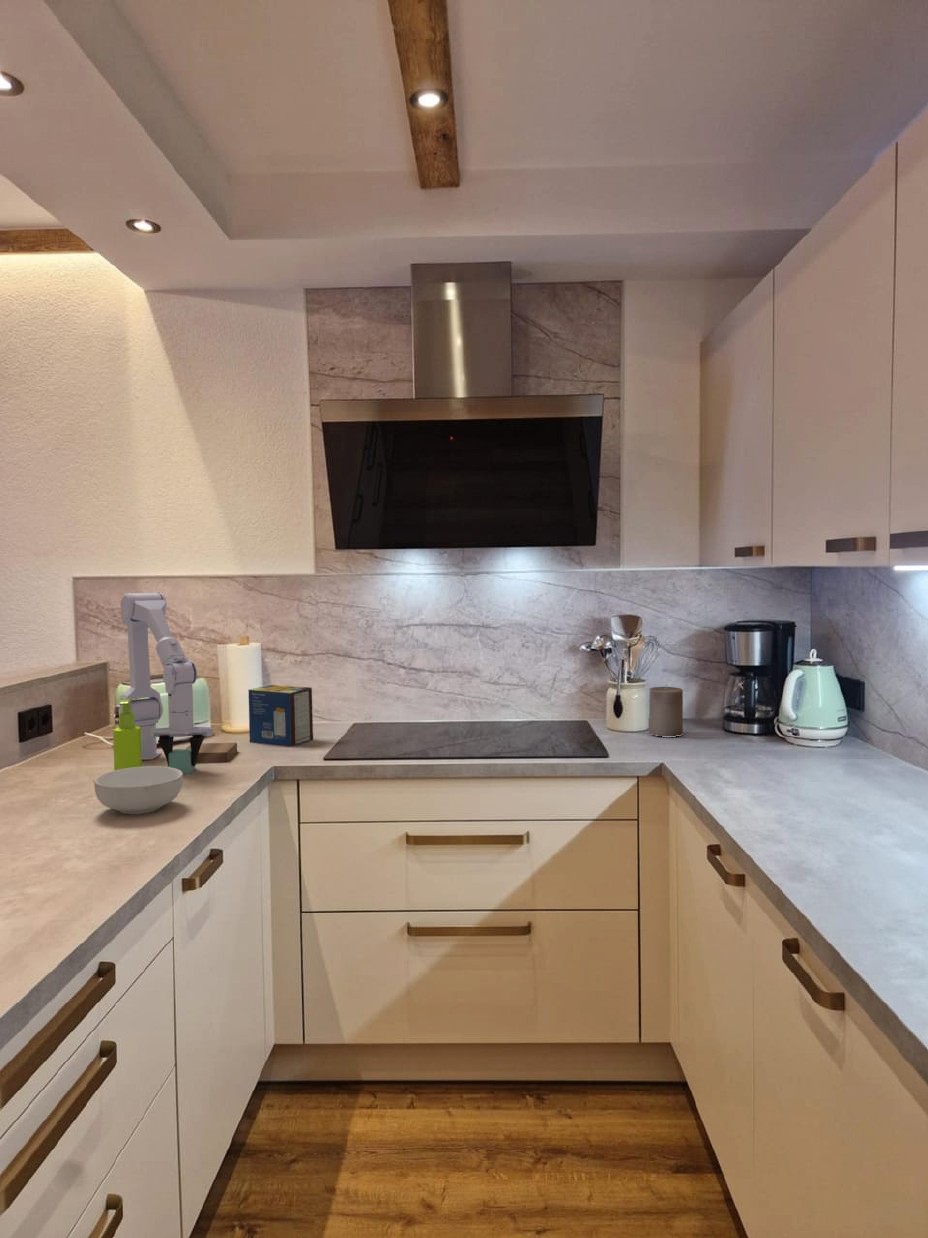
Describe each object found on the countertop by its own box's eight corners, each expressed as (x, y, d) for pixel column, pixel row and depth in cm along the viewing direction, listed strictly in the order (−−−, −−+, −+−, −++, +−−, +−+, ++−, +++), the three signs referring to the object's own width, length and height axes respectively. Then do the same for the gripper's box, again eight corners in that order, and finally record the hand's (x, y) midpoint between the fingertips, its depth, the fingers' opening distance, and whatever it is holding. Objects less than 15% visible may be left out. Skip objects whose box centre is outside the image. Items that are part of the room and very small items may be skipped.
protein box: (272, 735, 241) (270, 684, 240) (313, 740, 234) (312, 687, 234) (248, 742, 232) (247, 689, 231) (291, 747, 225) (290, 692, 224)
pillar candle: (676, 731, 243) (676, 682, 242) (687, 737, 233) (687, 686, 232) (644, 732, 242) (644, 682, 241) (654, 738, 233) (654, 687, 232)
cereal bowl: (88, 825, 156) (87, 789, 155) (101, 801, 172) (100, 769, 171) (181, 816, 160) (180, 782, 160) (185, 795, 176) (184, 763, 176)
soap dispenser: (112, 789, 181) (109, 701, 180) (116, 782, 188) (114, 697, 187) (140, 787, 183) (137, 700, 182) (143, 780, 189) (141, 696, 188)
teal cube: (169, 774, 195) (168, 753, 195) (175, 769, 200) (174, 749, 200) (190, 773, 196) (189, 753, 195) (195, 768, 201) (194, 748, 200)
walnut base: (180, 765, 207) (179, 753, 206) (192, 754, 219) (192, 743, 218) (227, 763, 207) (227, 752, 207) (237, 753, 219) (237, 742, 219)
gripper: (145, 714, 192) (147, 770, 193) (206, 713, 194) (208, 768, 194) (154, 709, 200) (155, 763, 200) (213, 708, 201) (215, 761, 201)
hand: (182, 765), depth 198 cm, fingers closed on teal cube, 5 cm apart
